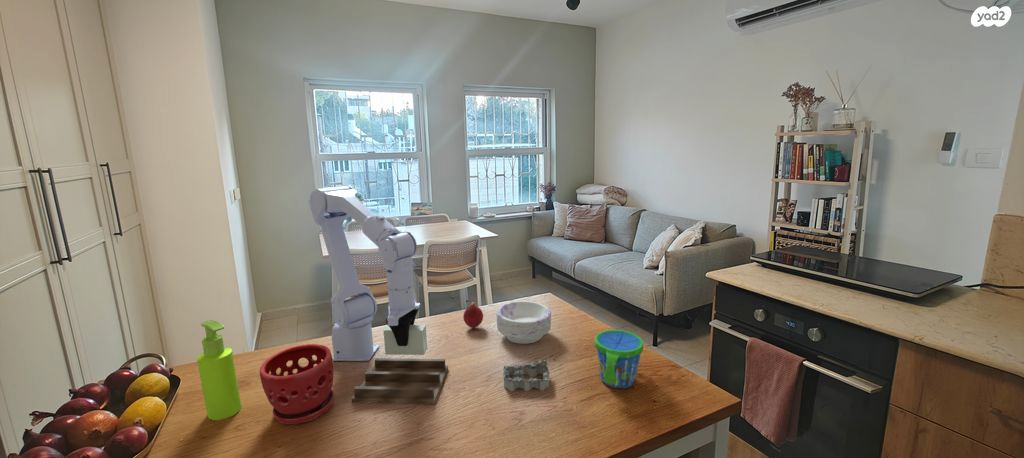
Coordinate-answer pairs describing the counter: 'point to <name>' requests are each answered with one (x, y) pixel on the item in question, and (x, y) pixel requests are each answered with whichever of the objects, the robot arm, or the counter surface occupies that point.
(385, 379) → the rack
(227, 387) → the soap dispenser
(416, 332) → the pale green block
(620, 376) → the snack cup
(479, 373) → the counter surface
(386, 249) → the robot arm
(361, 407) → the counter surface
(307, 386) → the plant pot
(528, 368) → the egg carton
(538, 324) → the paper bowls
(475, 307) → the onion
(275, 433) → the counter surface
